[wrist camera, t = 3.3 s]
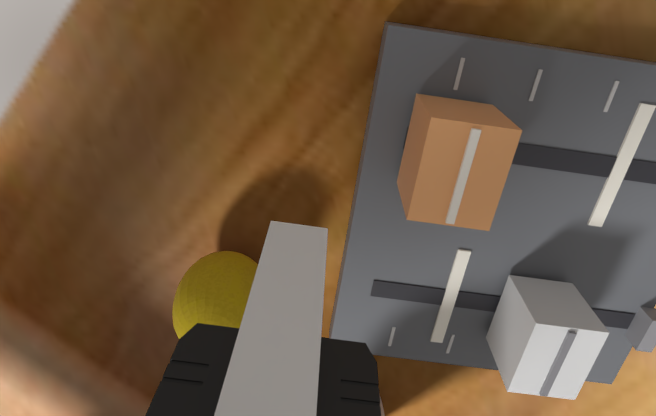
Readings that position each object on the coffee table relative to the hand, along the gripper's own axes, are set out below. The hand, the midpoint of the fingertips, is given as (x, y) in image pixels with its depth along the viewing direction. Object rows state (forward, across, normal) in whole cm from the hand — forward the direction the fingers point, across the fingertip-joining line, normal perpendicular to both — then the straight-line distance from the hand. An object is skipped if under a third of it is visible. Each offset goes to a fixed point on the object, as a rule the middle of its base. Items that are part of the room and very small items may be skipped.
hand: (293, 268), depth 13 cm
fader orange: (+14, +7, 0) cm, 16 cm away
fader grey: (+14, +15, -10) cm, 23 cm away
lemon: (+16, -4, -11) cm, 20 cm away
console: (+16, +13, -5) cm, 21 cm away
